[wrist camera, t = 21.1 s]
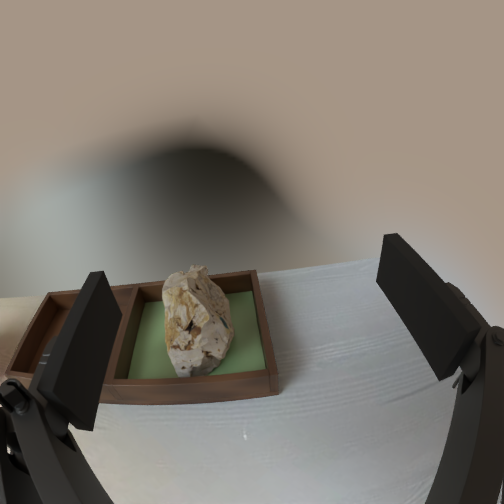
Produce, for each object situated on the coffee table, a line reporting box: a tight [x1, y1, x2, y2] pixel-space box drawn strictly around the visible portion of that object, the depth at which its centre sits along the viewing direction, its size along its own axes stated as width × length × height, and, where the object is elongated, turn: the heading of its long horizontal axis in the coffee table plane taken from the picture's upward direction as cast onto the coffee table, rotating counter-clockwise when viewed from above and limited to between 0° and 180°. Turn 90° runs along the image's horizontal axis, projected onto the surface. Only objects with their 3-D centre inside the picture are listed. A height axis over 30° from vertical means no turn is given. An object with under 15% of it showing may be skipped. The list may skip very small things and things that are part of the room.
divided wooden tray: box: [5, 270, 279, 405], centre depth 31 cm, size 32×17×4 cm, turn 96°
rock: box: [162, 264, 235, 378], centre depth 30 cm, size 12×7×10 cm, turn 0°
